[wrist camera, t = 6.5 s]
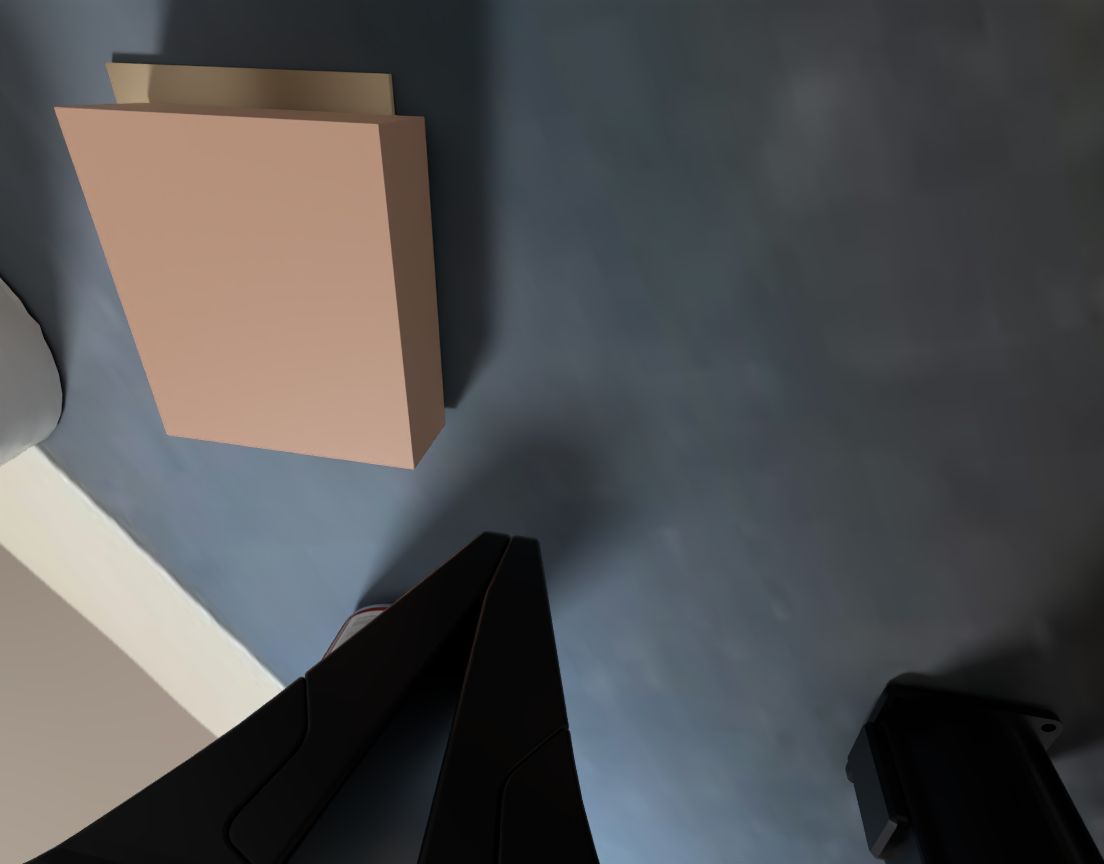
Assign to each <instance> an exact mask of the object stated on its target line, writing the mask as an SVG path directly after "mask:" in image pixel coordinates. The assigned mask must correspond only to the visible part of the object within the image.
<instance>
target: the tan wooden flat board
mask: <svg viewBox="0 0 1104 864" xmlns="http://www.w3.org/2000/svg"><path fill="white" fill-rule="evenodd" d="M105 64H106V67H107V71H108V74H109V77H110V81H111V84H112V87H113V91H114V94H115V97H116V101H117V104H123V103H161V104H181V105H201V106H221V107H241V108H260V109H280V110H300V111H320V112H340V113H360V114H380V115H395V109H394V98H393V87H392V76H391V74H379V73H354V72H329V71H305V70H280V69H255V68H230V67H205V66H181V65H156V64H131V63H105Z"/></svg>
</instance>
